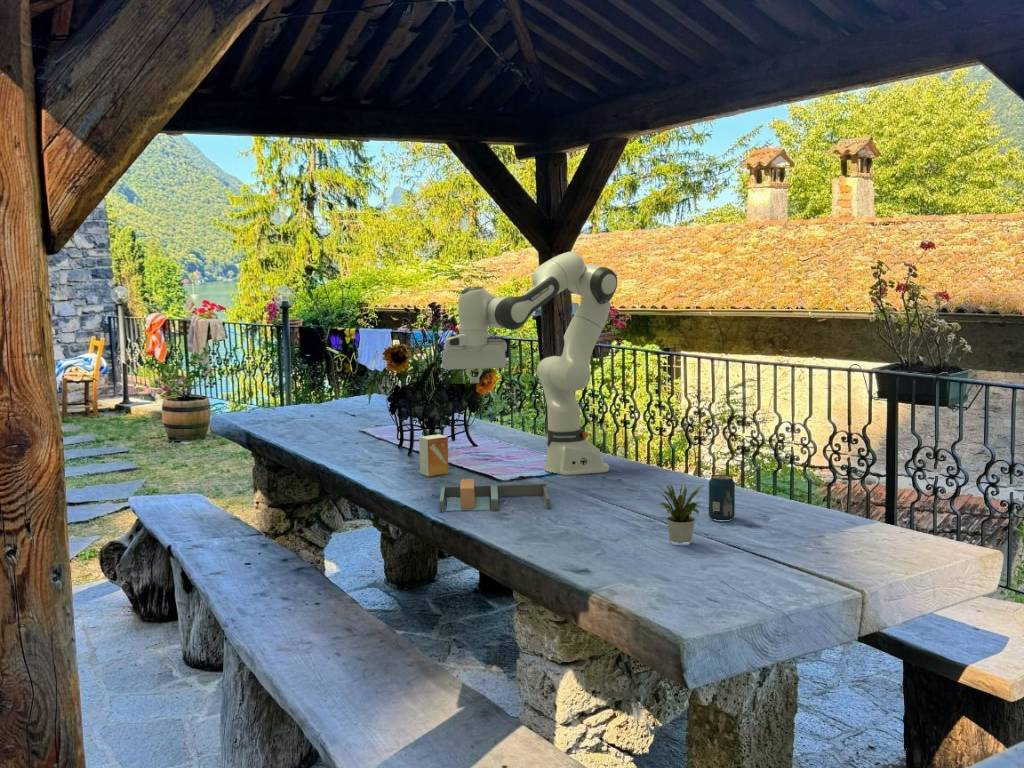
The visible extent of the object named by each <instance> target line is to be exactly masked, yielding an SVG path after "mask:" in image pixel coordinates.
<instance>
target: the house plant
mask: <svg viewBox="0 0 1024 768" xmlns="http://www.w3.org/2000/svg"><path fill="white" fill-rule="evenodd" d="M684 481H685V479H683V481H682V482H681V486H680V490H679V495H678V496H676V493H675V489H674V488H673V485H672V484H671V483H669V482H667V481H666V483H665V487H666V488H667V489H668V491H666V490H664V488H663V487H661V485H658V484H655V483H653V485H655V486H657V487H659V488H660V489H661V491H662V492H664V493H665V494H662V493H660V495H661V497H664V499H665V500H666V501H667V503H666V502H659V504H658V506H661V507H659V508H662V509H663V508H664V509H666V510H667V512H666V513H667V517H666V523H667V524H666V526H667V530H668V536H669V542H670V541H673V542H678V543H683V542H690V541H691V540H692V539H693V533H694V526H695V521H696V518H695V517H693V516H692V512H695V513H696V514H697V515H699V513H700V511H699V509H697V508H698V507H700V505H698V504H701V502H699V501H698V502H697V501H696V502H692V499H694V497H695V496H696V495H697V494H699V493H700V491H699V490H700V489H702V488H703V487H705V484H703V485H701V486H699V487H697V488H696V489H694V491H693V492H692V493H691V494H690V495H689V497H688V499H687V500H686V497H687V493H688V492H687V491H688V488H689V487H690V485H688V486H687V484H686V483H685V482H684ZM684 483H685V484H684ZM649 484H650V485H651V483H650V482H649ZM683 484H684V489H683ZM682 490H683V491H682ZM669 514H670V516H668V515H669ZM692 541H693V540H692ZM692 541H691V542H692Z"/></svg>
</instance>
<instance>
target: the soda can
mask: <svg viewBox="0 0 1024 768" xmlns="http://www.w3.org/2000/svg"><path fill="white" fill-rule="evenodd" d="M708 481H709V482H708V516H709V518H710V519H711V518H712V519H716V520H730V519H732V518H733V519H734V518H735V515H736V513H735V512H736V511H735V509H736V508H735V507H736V506H735V503H736V502H735V500H736V499H735V498H736V497H735V496H736V493H735V492H736V491H735V490H736V488H735V487H736V486H735V485H736V483H735V480H734V479H733V476H732V475H731V474H730V475H729V474H713V475H711V476H710V479H709V480H708ZM733 519H732V520H733Z"/></svg>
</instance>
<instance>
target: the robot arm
mask: <svg viewBox="0 0 1024 768" xmlns="http://www.w3.org/2000/svg"><path fill="white" fill-rule="evenodd" d="M617 276H618V275H617V274H616V272H615V271H614V270H612V269H610V268H608V267H606V266H601V265H597V264H591V263H590V264H589V263H585V262H584V259H583V258H582V256H581V255H580V254H579V253H577V252H574V251H567V252H563V253H560V254H558V255H556V256H554V257H552V258H550V259H548V260H547V261H545V262H543V263H542V264H540V265H539V266H538V267H537V268H535V270H533V272H532V277H531V282H532V285H533V287H531V288H530V289H529V290H527V291H526V292H525V293H523V294H522V295H520V296H519V295H518V296H497V295H494V294H492V293H491V292H489V291H487V290H486V289H485V287H483V286H473V287H467V288H464V289H463V290H461V292H460V294H459V297H458V298H459V299H458V317H459V318H458V319H459V327H458V334H456V335H455V334H454V335H452V336H450V337H447V338H446V339H445V341H444V342H445V347H444V349H443V352H442V359H441V360H442V361H441V367H442V369H443V370H466V375H467V376H468V378H469V382H470V384H480V378H481V376H482V374H483V373H484V372H483V371H484V370H483V369H505V368H506V366H507V358H506V352H507V350H508V343H507V341H506V340H504V339H503V338H488V337H489V336H488V327H493V328H501V329H502V328H503V329H507V330H513V331H514V330H518V329H521V328H522V327H523V326H524V325H525V324H526V323H527V321H528V320H529V318H530V316H532V315H533V313H534V312H536V311H537V310H538V309H540V308H541V307H543V306H544V305H545V304H547V302H549V301H550V300H552V299H553V298H555V296H557V295H558V294H560V293H561V292H564V291H567V292H568V293H570V294H572V295H577V296H580V304H579V305H578V308H577V309H576V311H575V312H574V315H573V316H572V319H571V321H570V323H569V324H568V326H567V328H566V330H565V333H564V335H563V340H564V344H563V345H564V346H563V350H562V353H561V355H560V356H557V355H552V356H547V357H544V358H543V359H541V360H540V362H539V363H538V364H537V368H536V374H537V375H536V376H537V378H538V379H539V381H540V383H541V385H542V389H543V394H544V397H545V402H546V409H547V410H546V411H547V429H546V434H545V435H546V444H547V448H546V449H547V450H546V451H547V452H546V457H545V458H546V459H545V464H544V467H543V471H545V470H546V471H545V472H548V471H549V473H552V472H553V474H560V475H564V476H572V475H573V476H574V475H575V476H576V475H585V474H586V475H588V474H598V473H600V474H601V473H607V472H609V471H610V465H609V464H608V463H607V462H605V461H604V459H603V454H602V453H601V450H600V449H599V448H598V447H596V445H594V444H593V443H591V442H590V441H588V440H587V438H588V437H589V433H588V432H587V431H586V430H584V429H582V428H581V427H580V426H581V417H580V415H581V414H580V411H581V409H580V405H579V403H578V401H577V400H576V396H575V393H574V392H577V391H581V390H584V389H585V388H586V387H587V386H588V385H589V383H590V381H591V371H590V364H591V358H592V354H593V351H594V349H595V346H596V344H597V342H598V340H599V338H600V336H601V335H602V331H603V330H604V328H605V325H606V323H607V320H608V317H609V314H610V310H611V300H612V299H613V296H614V295H615V293H616V290H617V287H618V277H617ZM472 369H473V370H477V372H478V374H477V376H472V375H471V372H472V371H471V370H472Z"/></svg>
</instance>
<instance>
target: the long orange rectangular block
mask: <svg viewBox="0 0 1024 768" xmlns="http://www.w3.org/2000/svg"><path fill="white" fill-rule="evenodd" d="M459 486H460V498H461V509H469V508H475V491H474V486H475V478H465V479H464V478H461V479H460V485H459Z"/></svg>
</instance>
